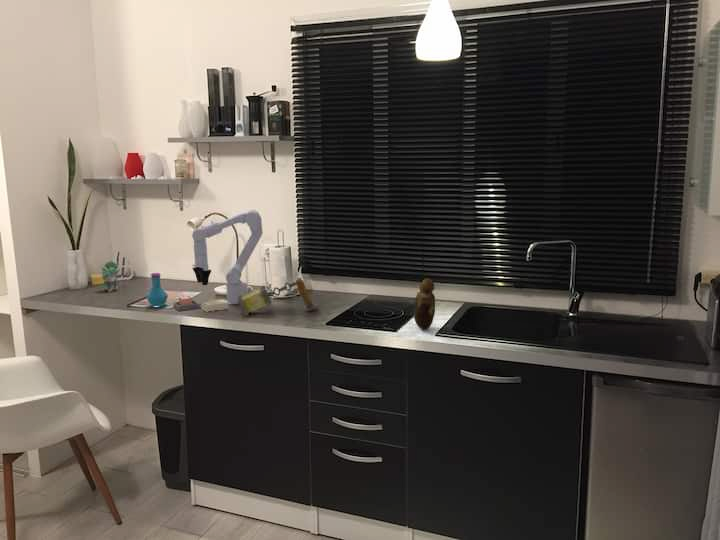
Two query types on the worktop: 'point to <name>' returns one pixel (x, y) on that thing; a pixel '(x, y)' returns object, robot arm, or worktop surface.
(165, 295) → the perfume bottle
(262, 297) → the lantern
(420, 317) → the sculpture
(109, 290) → the toy
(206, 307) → the block
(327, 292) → the worktop surface
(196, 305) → the tray
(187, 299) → the stub
